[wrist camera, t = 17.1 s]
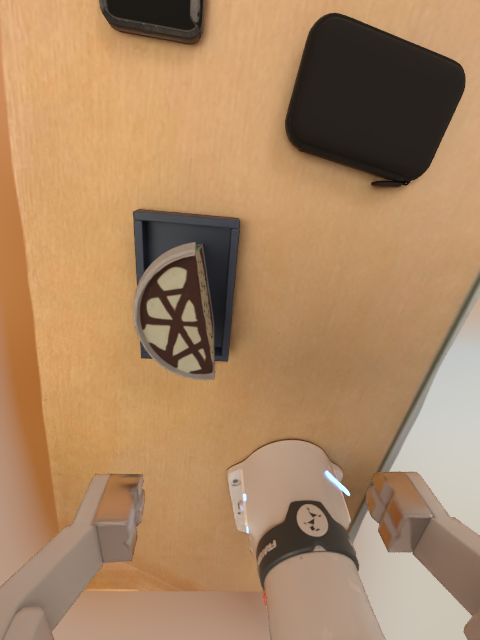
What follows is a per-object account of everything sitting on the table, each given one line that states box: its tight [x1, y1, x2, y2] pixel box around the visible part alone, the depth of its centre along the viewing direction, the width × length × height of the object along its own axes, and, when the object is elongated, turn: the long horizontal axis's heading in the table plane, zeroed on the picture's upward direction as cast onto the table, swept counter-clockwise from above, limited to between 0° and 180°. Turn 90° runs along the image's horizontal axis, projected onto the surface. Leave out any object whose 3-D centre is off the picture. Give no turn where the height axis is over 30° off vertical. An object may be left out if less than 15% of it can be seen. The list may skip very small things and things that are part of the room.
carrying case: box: [285, 13, 465, 187], centre depth 26 cm, size 11×3×15 cm
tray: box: [133, 209, 240, 362], centre depth 32 cm, size 16×10×2 cm, turn 174°
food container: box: [134, 242, 215, 380], centre depth 28 cm, size 12×6×10 cm, turn 5°
